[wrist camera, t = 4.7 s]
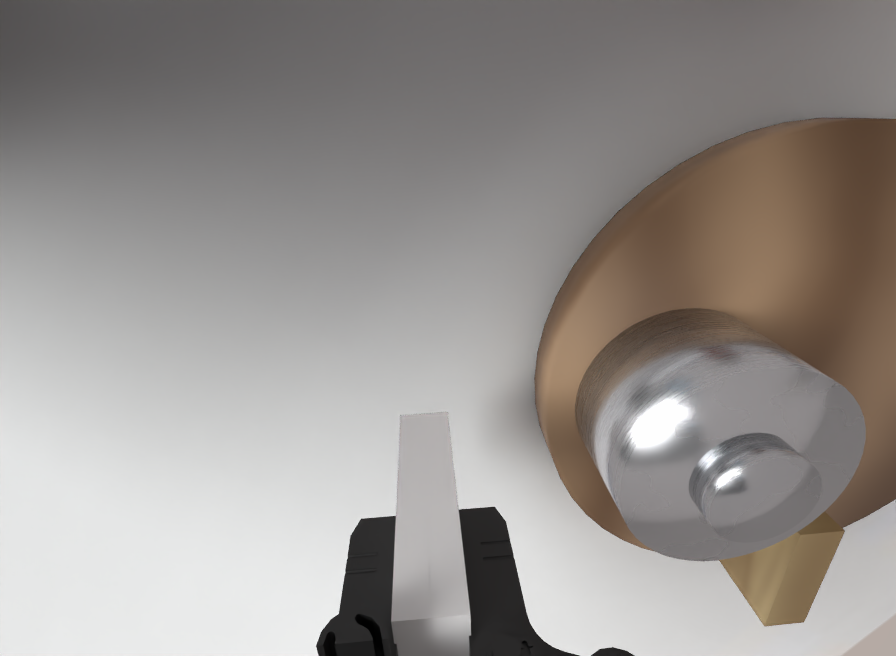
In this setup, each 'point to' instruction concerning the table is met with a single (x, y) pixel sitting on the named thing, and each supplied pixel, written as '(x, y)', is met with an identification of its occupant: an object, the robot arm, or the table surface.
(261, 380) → the table surface
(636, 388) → the cover
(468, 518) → the robot arm
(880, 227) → the turntable
